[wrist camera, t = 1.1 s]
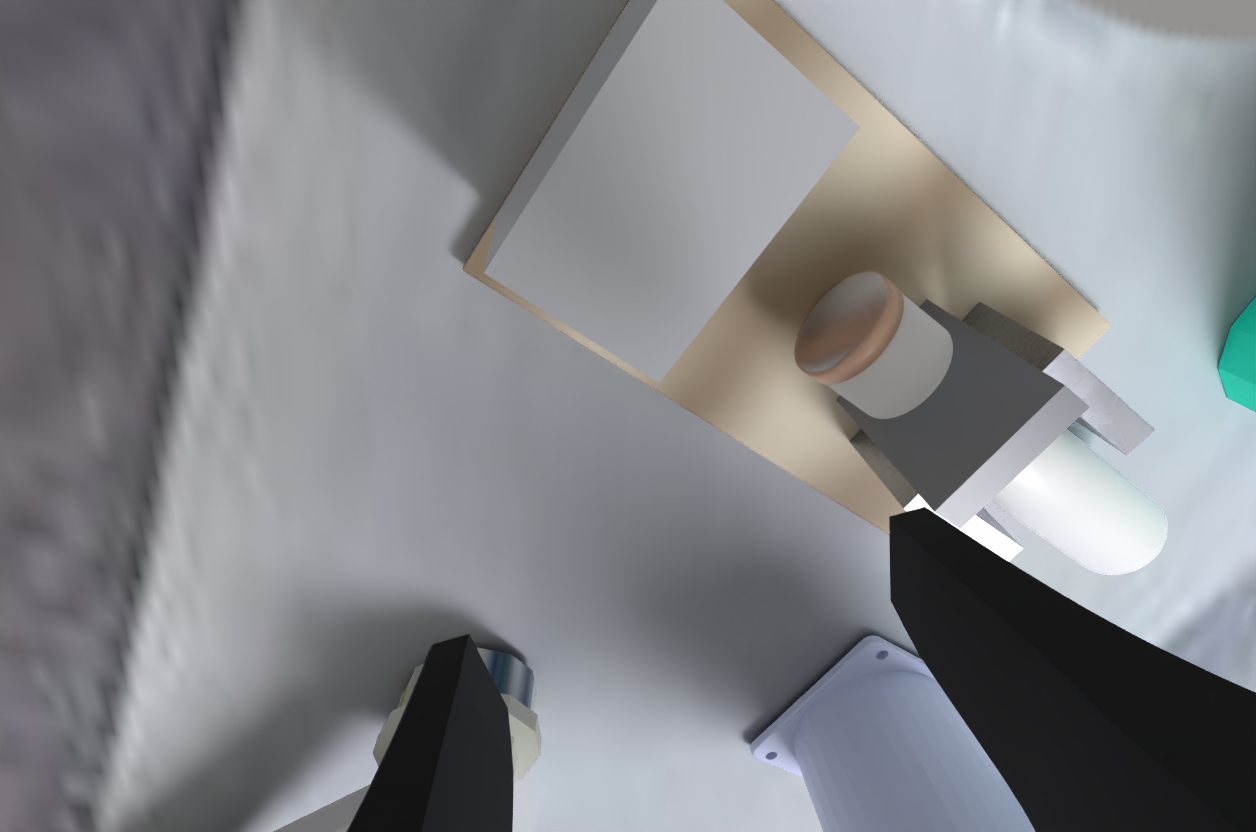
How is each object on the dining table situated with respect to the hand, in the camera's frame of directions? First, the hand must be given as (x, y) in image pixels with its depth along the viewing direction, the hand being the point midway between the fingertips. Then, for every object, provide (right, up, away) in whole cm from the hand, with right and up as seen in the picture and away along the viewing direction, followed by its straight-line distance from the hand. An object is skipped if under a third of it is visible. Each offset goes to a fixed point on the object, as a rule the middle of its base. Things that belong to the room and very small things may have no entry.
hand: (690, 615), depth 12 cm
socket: (-1, +10, +7) cm, 12 cm away
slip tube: (+10, +3, +11) cm, 16 cm away
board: (+4, +7, +9) cm, 13 cm away
